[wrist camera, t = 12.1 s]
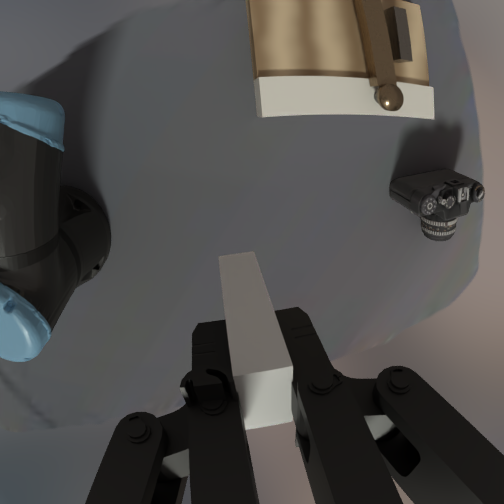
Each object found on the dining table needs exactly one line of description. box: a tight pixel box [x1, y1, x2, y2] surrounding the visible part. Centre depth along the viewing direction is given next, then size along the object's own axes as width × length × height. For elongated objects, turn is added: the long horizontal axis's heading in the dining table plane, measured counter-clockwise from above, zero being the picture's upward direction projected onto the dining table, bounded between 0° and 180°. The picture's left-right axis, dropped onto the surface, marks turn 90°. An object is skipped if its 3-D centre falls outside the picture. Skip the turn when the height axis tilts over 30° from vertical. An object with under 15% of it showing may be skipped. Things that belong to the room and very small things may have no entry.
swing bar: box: [354, 0, 404, 111], centre depth 29 cm, size 18×4×3 cm, turn 9°
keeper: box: [383, 6, 413, 63], centre depth 30 cm, size 2×8×4 cm, turn 5°
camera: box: [389, 169, 485, 241], centre depth 42 cm, size 14×11×10 cm
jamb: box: [254, 76, 434, 119], centre depth 35 cm, size 26×5×6 cm, turn 95°
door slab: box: [246, 0, 429, 87], centre depth 32 cm, size 26×14×3 cm, turn 95°
